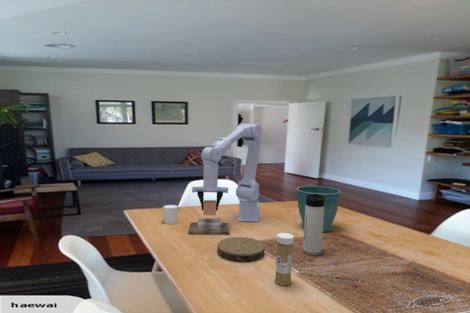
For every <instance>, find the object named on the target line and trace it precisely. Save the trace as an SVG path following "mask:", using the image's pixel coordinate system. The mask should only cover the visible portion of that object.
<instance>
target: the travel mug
mask: <svg viewBox="0 0 470 313" xmlns="http://www.w3.org/2000/svg"><path fill="white" fill-rule="evenodd" d="M324 200H325V198H324V197H323V196H321V195H319V194H312V195H307V196H306V206H305V224H304V228H303V242H302V243H303V245H302V252H303V253H304V254H306V255H309V256H320V255H321V254H322V251H323V250H322V249H323V248H322V247H323V234H324V232H323V220H324Z"/></svg>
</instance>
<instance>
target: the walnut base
mask: <svg viewBox="0 0 470 313" xmlns="http://www.w3.org/2000/svg"><path fill="white" fill-rule="evenodd" d="M229 227H230V226H229V222H221V218H219V217H218V218H217V217H198V221H196V222H195V221H194V222H192V221H191V222H190V223H189V228H188V235H204V236H207V235H208V236H209V235H210V236H212V235H214V236H216V235H217V236H218V235H220V236H230V228H229Z"/></svg>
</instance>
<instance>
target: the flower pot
mask: <svg viewBox="0 0 470 313" xmlns="http://www.w3.org/2000/svg"><path fill="white" fill-rule="evenodd" d="M296 192H297V207H298V212H299V215H300V218H301V223H302V228H303V229H304V224H305V206H306V196H307V195H312V194H319V195H321V196H323V197H324V198H325V200H324V220H323V233H324V232H330V231H331V230H332V225H333V223H334V221H335V218H336V215H337V213H338V210H339V209H338V208H339V203H340V202H339V201H340V195H341V190H339V189H337V188H333V187H330V186H329V187H328V186H319V185H317V186H316V185H306V186H305V185H303V186H298V187H297V188H296Z"/></svg>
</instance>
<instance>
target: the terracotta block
mask: <svg viewBox="0 0 470 313" xmlns="http://www.w3.org/2000/svg"><path fill="white" fill-rule="evenodd" d="M216 201H217V199H216V200H213V199H212V200H211V199H206V200H205V199H204V209H203V210H202V212H203V216H216V215H217V211H216Z"/></svg>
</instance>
